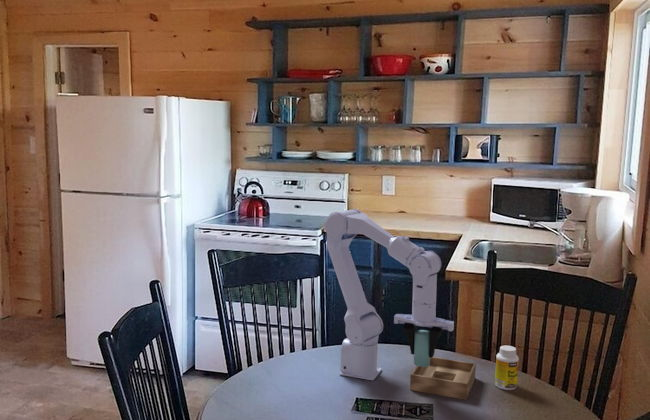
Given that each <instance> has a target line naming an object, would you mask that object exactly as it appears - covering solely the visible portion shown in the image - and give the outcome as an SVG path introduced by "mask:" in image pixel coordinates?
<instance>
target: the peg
mask: <svg viewBox="0 0 650 420" xmlns="http://www.w3.org/2000/svg"><path fill="white" fill-rule="evenodd" d="M429 332H430V330H426V329H417V331H415V336H414V355H413V364H414V365H415V367H416V366H420V367H427V366H429V365H430V357H429V352H430V334H429Z"/></svg>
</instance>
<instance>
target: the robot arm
mask: <svg viewBox="0 0 650 420" xmlns="http://www.w3.org/2000/svg"><path fill="white" fill-rule="evenodd" d="M323 227H324V229H325V233H326V248H327V251H328V255H329V258H330V261H331V262H332V266H333V269H334V272H335V275H336V277H337V280H338V281H337V282H338V284H339V287H340V289H341V292H342V295H343V298H344V299H343V300H344V301H345V305H346V308H347V310H346V313H345V315H344V317H343V320H344V323H345V324H344V325H345V331H344V332H345V335H346V338H344V339H343V341H342V344H341V347H340V372H339V375H340V376H344V377H350V378H355V379H356V378H357V379H363V380H366V381H367V380H368V381H374V380H375V379H376V378H377V377H378V376H379V374H380V373H381V371H382V370H383V368H382V367H378V346H379V343H378V342H379V335H380V334H381V333H382V332H383V330H384V323H383V320H382V317H380V315H379V314H378V313H377V310H376V308H375V307H374V306H373V305H372V304H370V303H369V302H368V300H367V298H366V294H365V292H364V290H363V286H362V283H361V279H360V277H359V274H358V271H357V268H356V265H355V262H354V260H353V257H352V256H353V255H352V253H351V251H350V245H351V243H352V241H353V239H354V238H355V237H356V236H357V235H358V234H359V235H364V236H365V237H367V238H369V239H370V240H372V241H374V242H376V243H377V244H379V245H381V246H383V247H384V248H386V250H387V253H388V255H389V256H390V257H392V258H393V259H395V261H398V263H400V264H401V265H403V266H405V267H407V268H408V270H409V273H410V274H411V277H412V301H411V302H412V304H411V305H412V307H411V314H404V313H396V314H394V316H393V324H395V325H396V324H397V325H398V324H403V328H402V330H403V332H404V335H405V336H406V339H407V342H408V345H409V349H410V354H411V355H412V356H414V336H415V331H417V330H418V327H424V328H431V329H429V331H430V332H429V334H430V352H429V357H435V351H436V347H437V344H438V341H439V339H440V337H441V335H442V332H443V331H444V330H446V331H448V332H453V331H454V329H455V328H454V327H455V325H454V324H455V322H454V320H448V319H444V318H439V317H436V315H437V314H436V309H437V288H438V287H437V281H438V273H439V272H440V271H441V268H442V261H441V258H440V256H439V255H438V254H437V253H436V252H435V251H433V250H426V251H425V248H424V247H422V246H421V247H420V246H419V245H416V244H415V243H414V242H412V241H410V238H409V237H408V236H406V235H405V236H403V235H398V236H394V235H393V234H391V233H390V232H389V231H388V230H386V229H384V228H383V227H381V226H380V225H379V224H377V223H376V222H375V221H373V220H372V219H371V218H369V216H368V215H367V214H366V213H364V212H362V211H360V209H356V208H351V209H349V210H348V209H347V210H343V211H333V212H331V213H330V214H328V216H327V218H326V220H325V222H324V225H323Z"/></svg>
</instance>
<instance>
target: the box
mask: <svg viewBox="0 0 650 420" xmlns="http://www.w3.org/2000/svg"><path fill="white" fill-rule="evenodd" d="M476 369H477V365H476V363H474V362H469V361H462V360H457V359H456V360H455V359H450V358H449V359H448V358H443V357H442V358H441V357H436V356H433V357H430V365H429V366H427V367H420V366H416V365H415V366H414V368H413V370H412V372H411V373H410V375H409V376H410V380H409V381H410V382H409V383H410V384H409V390H410V391H414V392H420V393H421V392H422V393H425V394H426V393H427V394H431V395H438V396H443V397H449V398H454V399H458V400H459V399H460V400H464V401H466V400H468V397H469V395H470V392H471V389H472V387H473V385H474V382H475V380H476V372H477V371H476Z"/></svg>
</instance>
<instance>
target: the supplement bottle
mask: <svg viewBox="0 0 650 420" xmlns="http://www.w3.org/2000/svg"><path fill="white" fill-rule="evenodd" d="M495 356H496V358H495V372H494V385H495V387H497V388H499V389H500V390H504V391H513V390H515V389H517V387H518V380H519V379H518V377H519V376H518V375H519V365H520V363H519V362H520V358H519V356H518V354H517V349H516V347H514V346H512V345H501V346H500V347H499V352H497V354H496V355H495Z"/></svg>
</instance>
